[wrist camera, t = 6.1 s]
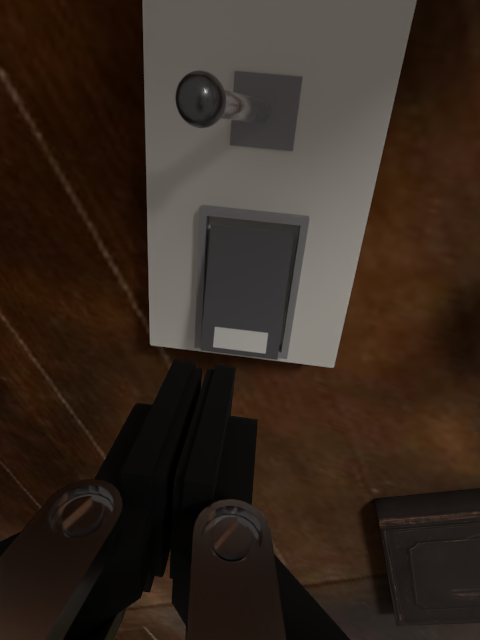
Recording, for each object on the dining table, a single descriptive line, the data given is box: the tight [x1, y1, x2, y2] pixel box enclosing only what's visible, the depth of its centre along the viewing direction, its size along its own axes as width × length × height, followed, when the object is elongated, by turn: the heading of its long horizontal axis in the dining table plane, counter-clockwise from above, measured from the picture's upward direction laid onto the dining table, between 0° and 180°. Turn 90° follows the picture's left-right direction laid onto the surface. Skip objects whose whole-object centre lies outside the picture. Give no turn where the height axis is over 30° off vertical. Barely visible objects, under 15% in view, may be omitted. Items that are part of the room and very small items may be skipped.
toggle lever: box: [175, 70, 271, 128], centre depth 16 cm, size 2×2×7 cm
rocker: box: [201, 225, 294, 360], centre depth 22 cm, size 7×4×1 cm, turn 175°
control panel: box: [142, 0, 417, 368], centre depth 20 cm, size 28×12×4 cm, turn 175°
